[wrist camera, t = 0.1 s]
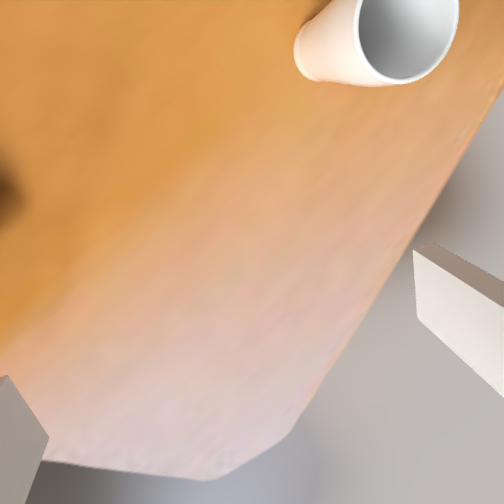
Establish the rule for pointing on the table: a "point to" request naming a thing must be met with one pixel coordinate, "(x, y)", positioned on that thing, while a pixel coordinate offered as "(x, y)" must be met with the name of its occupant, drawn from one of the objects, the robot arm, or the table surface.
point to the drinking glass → (376, 41)
